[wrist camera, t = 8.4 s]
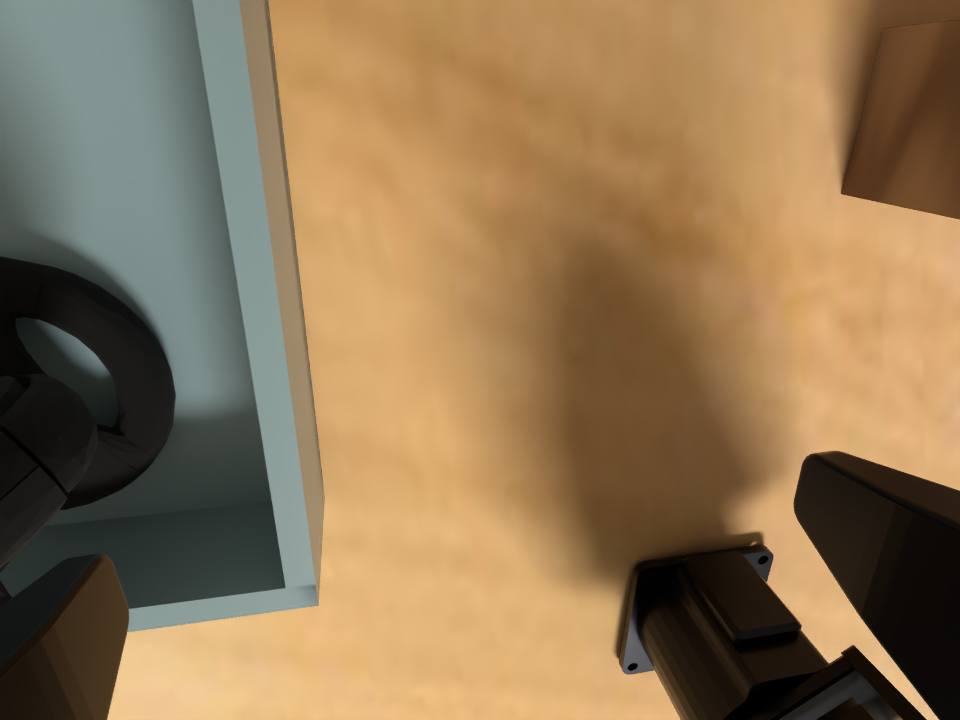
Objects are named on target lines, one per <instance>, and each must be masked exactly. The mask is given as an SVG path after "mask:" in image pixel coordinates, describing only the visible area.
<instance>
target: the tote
mask: <svg viewBox="0 0 960 720" xmlns="http://www.w3.org/2000/svg"><path fill="white" fill-rule="evenodd" d="M0 256H2V257H7V258H12V259H17V260H22V261H27V262H32V263H37V264H42V265H47V266H53V267H56V268H59V269H62V270H65V271H68V272H71V273H74V274H76V275H78V276H80V277H82V278H84V279H87V280H89V281H91V282H93V283H95V284H97V285H99V286H100V287H102V288H103V289H105V290H106V291H108V292H109V293H110V294H112V295H113V296H115V297H116V298H118V299H119V300H120V301H122V302H123V303H125V304H126V305H127V306H128V307H129V308H130V309H131V310H132V311H133V312H134V313H135V314H136V315H137V316H138V317H139V318H140V319H141V320H142V321H143V322H144V323H145V324H146V326H147V327H148V328H149V329H150V331H151V332H152V333H153V334H154V335H155V337H156V339H157V341H158V343H159V345H160V346H161V348H162V350H163V352H164V354H165V355H166V358H167V360H168V363H169V366H170V368H171V371H172V376H173V381H174V387H175V392H176V400H175V410H174V419H173V426H172V428H171V431H170V433H169V436H168V438H167V441H166V444H165V445H164V447H163V448H162V450H161V451H160V453H159V454H158V456H157V457H156V459H155V460H154V462H153V463H152V464H151V465H150V467H149V468H148V469H147V470H146V471H145V472H144V473H142V474H141V475H140V476H139V477H138V478H137V479H136V480H135V481H133V482H132V483H131V484H129V485H128V486H126V487H125V488H123V489H122V490H120V491H118V492H116V493H114V494H111V495H109V496H107V497H105V498H103V499H100V500H98V501H96V502H94V503H91V504H87V505H83V506H79V507H75V508H71V509H67V510H59V511H58V512H57V514H56V515H55V516H54V517H53V518H52V519H51V520H50V521H49V522H48V523H47V524H46V525H45V527H44V528H43V529H42V530H41V531H40V532H39V533H38V534H37V535H36V536H35V537H34V538H33V540H32V541H31V542H30V543H29V544H28V545H27V546H26V547H25V548H24V549H23V550H22V551H21V553H20V554H19V555H18V556H17V557H16V558H15V559H14V560H13V561H12V562H11V563H10V564H9V566H8V567H7V568H5V569H4V570H3V571H2V572H1V573H0V580H1V582H2V584H3V585H4V587H5V588H6V590H7V591H8V593H9V594H10V596H11V597H12V598H13V597H14V596H15V595H17V594H18V593H19V592H21V591H22V590H23V589H25V588H26V587H28V586H29V585H30V584H32V583H33V582H34V581H36V580H37V579H38V578H40V577H41V576H43V575H44V574H45V573H47V572H48V571H49V570H51V569H52V568H54V567H55V566H56V565H58V564H59V563H60V562H62V561H63V560H65V559H68V558H72V557H79V556H86V555H93V554H104V555H107V556H108V557H109V558H110V559H111V560H112V562H113V564H114V567H115V570H116V573H117V575H118V578H119V581H120V584H121V587H122V589H123V592H124V595H125V598H126V601H127V604H128V608H129V626H128V631H127V632H133V631H140V630H147V629H154V628H161V627H169V626H176V625H183V624H190V623H197V622H204V621H212V620H219V619H226V618H233V617H240V616H247V615H254V614H262V613H269V612H276V611H283V610H290V609H297V608H305V607H312V606H318V605H319V588H320V570H321V553H322V536H323V519H324V502H325V496H324V487H323V478H322V469H321V460H320V452H319V443H318V434H317V425H316V416H315V408H314V399H313V390H312V381H311V373H310V364H309V355H308V346H307V337H306V329H305V320H304V311H303V302H302V293H301V285H300V276H299V267H298V258H297V250H296V241H295V232H294V223H293V214H292V206H291V197H290V188H289V179H288V170H287V162H286V153H285V144H284V135H283V127H282V118H281V109H280V100H279V91H278V83H277V74H276V65H275V56H274V47H273V39H272V30H271V21H270V12H269V4H268V0H0ZM15 323H16V329H17V334H18V336H19V338H20V340H21V341H22V343H23V345H24V346H25V348H26V350H27V352H28V353H29V354H30V355H31V356H32V358H33V359H34V360H35V361H36V362H37V364H38V365H39V366H40V367H41V369H42V370H43V371H44V372H45V373H46V375H48V376H50V377H52V378H55V379H57V380H59V381H61V382H62V383H64V384H65V385H66V386H68V387H69V388H70V389H72V390H73V391H74V392H76V393H77V394H78V395H80V397H81V399H82V400H83V402H84V403H85V405H86V406H87V408H88V409H89V411H90V412H91V414H92V415H93V417H94V418H95V420H96V423H97V424H100V425H104V426H109V427H113V426H115V423H116V421H117V417H118V410H119V407H118V400H117V393H116V387H115V384H114V382H113V380H112V377H111V375H110V372H109V371H108V370H107V368H106V367H105V366H104V365H103V363H102V362H101V361H100V359H99V358H98V357H97V356H96V354H95V353H94V352H92V351H91V350H90V349H89V348H88V347H87V346H85V345H84V344H83V343H82V342H81V341H80V340H78V339H77V338H75V337H74V336H72V335H70V334H68V333H66V332H64V331H63V330H61V329H59V328H57V327H55V326H53V325H51V324H48V323H46V322H44V321H41V320H39V319H31V318H26V317H23V318H17V319H16V322H15Z"/></svg>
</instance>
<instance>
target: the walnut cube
mask: <svg viewBox="0 0 960 720" xmlns="http://www.w3.org/2000/svg"><path fill="white" fill-rule="evenodd" d="M841 194H843V195H848V196H853V197H857V198H862V199H867V200H871V201H876V202H881V203H885V204H890V205H895V206H899V207H904V208H909V209H913V210H918V211H923V212H928V213H932V214H937V215H942V216H946V217H951V218H956V219H960V20H954V21H945V22H936V23H927V24H918V25H909V26H900V27H892V28H883V32H882V36H881V40H880V44H879V48H878V52H877V56H876V59H875V63H874V67H873V71H872V75H871V79H870V83H869V87H868V91H867V95H866V98H865V102H864V106H863V110H862V114H861V118H860V122H859V126H858V130H857V134H856V138H855V141H854V145H853V149H852V153H851V157H850V161H849V165H848V169H847V173H846V177H845V180H844V184H843V188H842V192H841Z"/></svg>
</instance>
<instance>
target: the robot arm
mask: <svg viewBox="0 0 960 720" xmlns="http://www.w3.org/2000/svg"><path fill="white" fill-rule="evenodd" d="M794 511H795V515H796V517H797V519H798V521H799V523H800V525H801V526H802V528H803V529H804V531H805V532H806V534H807V535H808V537H809V539H810V540H811V542H812V543H813V545H814V546H815V548H816V549H817V551H818V553H819V554H820V556H821V557H822V559H823V560H824V562H825V563H826V565H827V567H828V568H829V570H830V571H831V573H832V574H833V576H834V577H835V579H836V581H837V582H838V584H839V585H840V587H841V588H842V590H843V592H844V593H845V595H846V596H847V598H848V599H849V601H850V602H851V604H852V605H853V607H854V608H855V610H856V611H857V613H858V614H859V616H860V617H861V618H862V620H863V621H864V623H865V624H866V625H867V627H868V628H869V629H870V631H871V632H872V633H873V635H874V636H875V637H876V638H877V640H878V641H879V642H880V644H881V645H882V646H883V648H884V649H885V650H886V651H887V653H888V654H889V655H890V657H891V658H892V659H893V660H894V662H895V663H896V664H897V666H898V667H899V668H900V670H901V671H902V672H903V673H904V675H905V676H906V677H907V679H908V680H909V681H910V682H911V684H912V685H913V686H914V688H915V689H916V690H917V692H918V693H919V694H920V695H921V697H922V698H923V699H924V701H925V702H926V703H927V704H928V706H929V707H930V708H931V710H932V711H933V712H934V714H935V715H936V716H937V717H938V719H939V720H960V491H959V490H956V489H953V488H950V487H947V486H944V485H941V484H938V483H935V482H932V481H929V480H926V479H923V478H920V477H917V476H913V475H910V474H907V473H904V472H901V471H898V470H895V469H892V468H889V467H886V466H883V465H880V464H877V463H874V462H871V461H868V460H865V459H862V458H859V457H856V456H853V455H850V454H847V453H844V452H840V451H827V452H820V453H813V454H810V455H809V456H807V457H806V458H805V460H804V461H803V464H802V467H801V472H800V476H799V480H798V485H797V489H796V493H795V498H794ZM772 561H773V554H772V552H771V551H770V550H769V549H768V548H767V547H766V546H764V545H757V546H750V547H743V548H736V549H729V550H721V551H714V552H707V553H700V554H693V555H686V556H679V557H671V558H664V559H657V560H650V561H644V562H641V563H639V564H638V565H637V566H636V567H635V568H634V571H633V576H632V582H631V589H630V595H629V601H628V608H627V614H626V620H625V627H624V633H623V640H622V646H621V652H620V659H619V664H620V666H621V668H622V671H623V672H624V673H625V674H636V673H642V672H647V671H653V670H655V671H656V673H657V675H658V677H659V679H660V681H661V683H662V685H663V687H664V689H665V690H666V692H667V694H668V696H669V698H670V700H671V702H672V704H673V706H674V708H675V709H676V711H677V713H678V715H679V717H680V719H681V720H926V719H925V718H924V717H923V716H922V715H921V713H920V712H919V711H918V710H917V709H916V708H915V707H914V706H913V705H912V704H911V703H910V702H909V701H908V700H907V699H906V698H905V697H904V696H903V695H902V694H901V693H900V692H899V691H898V690H897V689H896V688H895V687H894V686H893V685H892V684H891V683H890V682H889V681H888V680H887V679H886V678H885V677H884V676H883V675H882V674H881V673H880V671H879V670H878V669H877V668H876V667H875V666H874V665H873V664H872V663H871V662H870V661H869V660H868V659H867V658H866V657H865V656H864V655H863V654H862V653H861V652H860V651H859V650H858V649H857V648H856V647H855V646H854V645H852V646H850V647H849V648H847V649H846V650H844V651H843V652H841V654H842V656H841V657H839V658H837V659H836V660H834V661H833V662H831V663H830V664H829V663H828V662H827V661H826V660H825V658H824V657H823V656H822V655H821V654H820V652H819V651H818V650H817V649H816V648H815V646H814V645H813V644H812V643H811V642H810V640H809V639H808V638H807V637H806V636H805V634H804V633H803V632H802V631H801V624H800V622H799V621H798V620H797V618H796V617H795V616H794V615H793V614H792V613H791V611H790V610H789V609H788V608H787V607H786V605H785V604H784V603H783V602H782V601H781V599H780V598H779V597H778V596H777V595H776V594H775V592H774V591H773V590H772V589H771V588H770V586H769V585H768V584H767V579H768V575H769V572H770V568H771V565H772ZM128 626H129V608H128V604H127V601H126V598H125V595H124V592H123V589H122V587H121V584H120V581H119V578H118V575H117V573H116V570H115V567H114V564H113V562H112V560H111V559H110V558H109V557H108V556H107V555H104V554H93V555H86V556H79V557H72V558H68V559H65V560H63V561H62V562H60V563H59V564H58V565H56V566H55V567H54V568H52V569H51V570H49V571H48V572H47V573H45V574H44V575H43V576H41V577H40V578H38V579H37V580H36V581H34V582H33V583H32V584H30V585H29V586H28V587H26V588H25V589H23V590H22V591H21V592H19V593H18V594H17V595H15V596H14V597H13V598H11V599H10V600H8V601H7V602H6V603H4V604H3V605H2V606H0V720H107V718H108V713H109V709H110V705H111V700H112V696H113V692H114V687H115V683H116V679H117V674H118V670H119V666H120V661H121V657H122V652H123V648H124V644H125V639H126V635H127V631H128Z"/></svg>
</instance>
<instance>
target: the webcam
mask: <svg viewBox="0 0 960 720" xmlns="http://www.w3.org/2000/svg"><path fill="white" fill-rule="evenodd" d="M23 317H26V318H31V319H39V320H41V321H44V322H46V323H48V324H51V325H53V326H55V327H57V328H59V329H61V330H63V331H64V332H66V333H68V334H70V335H72V336H74V337H75V338H77V339H78V340H80V341H81V342H82V343H83V344H84V345H85V346H87V347H88V348H89V349H90V350H91V351H92V352H94V353H95V354H96V356H97V357H98V358H99V359H100V361H101V362H102V363H103V365H104V366H105V367H106V368H107V370H108V371H109V372H110V375H111V377H112V380H113V382H114V384H115V387H116V393H117V400H118V407H119V410H118V417H117V421H116V423H115V426H113V427H109V426H104V425H100V424H97V423H96V420H95V418H94V417H93V415H92V414H91V412H90V411H89V409H88V408H87V406H86V405H85V403H84V402H83V400H82V399H81V397H80V395H78V394H77V393H76V392H74V391H73V390H72V389H70V388H69V387H68V386H66V385H65V384H64V383H62V382H61V381H59V380H57V379H55V378H52V377H50V376H48V375H46V373H45V372H44V371H43V370H42V369H41V367H40V366H39V365H38V364H37V362H36V361H35V360H34V359H33V358H32V356H31V355H30V354H29V353H28V352H27V350H26V348H25V346H24V345H23V343H22V341H21V340H20V338H19V336H18V334H17V329H16V323H15V322H16V319H17V318H23ZM175 400H176V392H175V387H174V381H173V376H172V371H171V368H170V366H169V363H168V360H167V358H166V355H165V354H164V352H163V350H162V348H161V346H160V345H159V343H158V341H157V339H156V337H155V335H154V334H153V333H152V332H151V331H150V329H149V328H148V327H147V326H146V324H145V323H144V322H143V321H142V320H141V319H140V318H139V317H138V316H137V315H136V314H135V313H134V312H133V311H132V310H131V309H130V308H129V307H128V306H127V305H126V304H125V303H123V302H122V301H120V300H119V299H118V298H116V297H115V296H113V295H112V294H110V293H109V292H108V291H106V290H105V289H103V288H102V287H100V286H99V285H97V284H95V283H93V282H91V281H89V280H87V279H84V278H82V277H80V276H78V275H76V274H74V273H71V272H68V271H65V270H62V269H59V268H56V267H53V266H47V265H42V264H37V263H32V262H27V261H22V260H17V259H12V258H7V257H2V256H0V573H1V572H2V571H3V570H4V569H5V568H7V567H8V566H9V564H10V563H11V562H12V561H13V560H14V559H15V558H16V557H17V556H18V555H19V554H20V553H21V551H22V550H23V549H24V548H25V547H26V546H27V545H28V544H29V543H30V542H31V541H32V540H33V538H34V537H35V536H36V535H37V534H38V533H39V532H40V531H41V530H42V529H43V528H44V527H45V525H46V524H47V523H48V522H49V521H50V520H51V519H52V518H53V517H54V516H55V515H56V514H57V512H58V511H59V510H67V509H71V508H75V507H79V506H83V505H87V504H91V503H94V502H96V501H98V500H100V499H103V498H105V497H107V496H109V495H111V494H114V493H116V492H118V491H120V490H122V489H123V488H125V487H126V486H128V485H129V484H131V483H132V482H133V481H135V480H136V479H137V478H138V477H139V476H140V475H141V474H142V473H144V472H145V471H146V470H147V469H148V468H149V467H150V465H151V464H152V463H153V462H154V460H155V459H156V457H157V456H158V454H159V453H160V451H161V450H162V448H163V447H164V445H165V444H166V441H167V438H168V436H169V433H170V431H171V428H172V426H173V419H174V410H175ZM11 598H12V597H11V596H10V594H9V593H8V591H7V590H6V588H5V587H4V585H3V584H2V582H1V580H0V606H2V605H3V604H4V603H6V602H7V601H8V600H10V599H11Z"/></svg>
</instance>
